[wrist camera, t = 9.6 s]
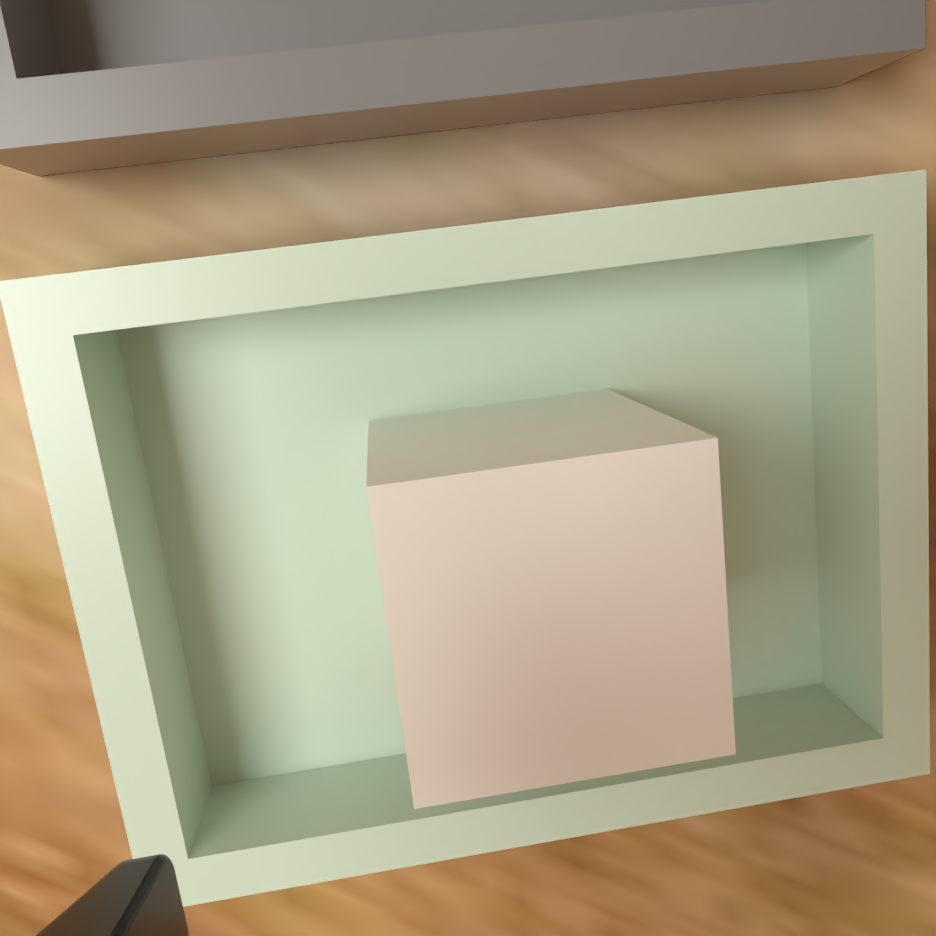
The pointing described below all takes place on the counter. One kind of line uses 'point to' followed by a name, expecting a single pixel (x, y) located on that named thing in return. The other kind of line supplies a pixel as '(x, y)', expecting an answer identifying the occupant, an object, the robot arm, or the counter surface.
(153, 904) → the robot arm
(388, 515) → the stone block
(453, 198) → the counter surface
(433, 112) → the bin
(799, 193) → the bin
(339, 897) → the counter surface
